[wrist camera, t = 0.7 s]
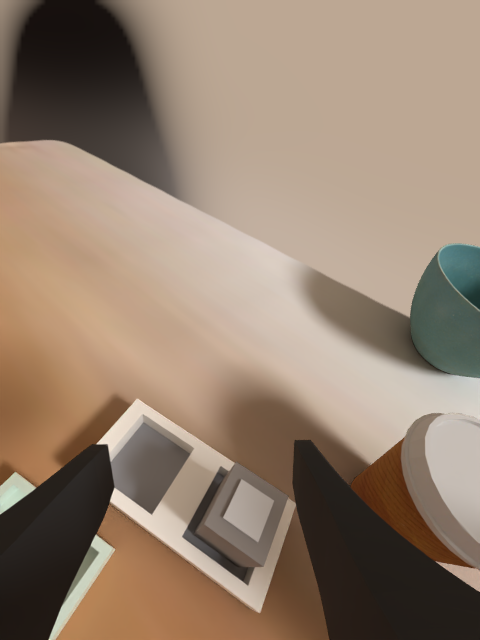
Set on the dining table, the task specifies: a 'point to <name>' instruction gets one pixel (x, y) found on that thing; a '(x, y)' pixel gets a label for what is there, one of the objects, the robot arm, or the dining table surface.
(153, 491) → the strip
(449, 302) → the teal bowl
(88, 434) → the dining table surface
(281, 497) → the twin plug
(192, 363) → the dining table surface
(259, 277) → the dining table surface
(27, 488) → the tray
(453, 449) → the disposable coffee cup
